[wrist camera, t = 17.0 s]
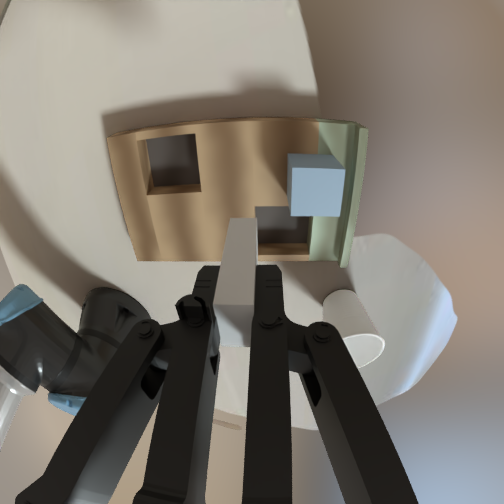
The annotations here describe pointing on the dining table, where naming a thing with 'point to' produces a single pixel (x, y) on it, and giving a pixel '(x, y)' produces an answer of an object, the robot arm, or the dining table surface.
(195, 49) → the dining table surface
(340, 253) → the board
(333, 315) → the cup
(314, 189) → the block
